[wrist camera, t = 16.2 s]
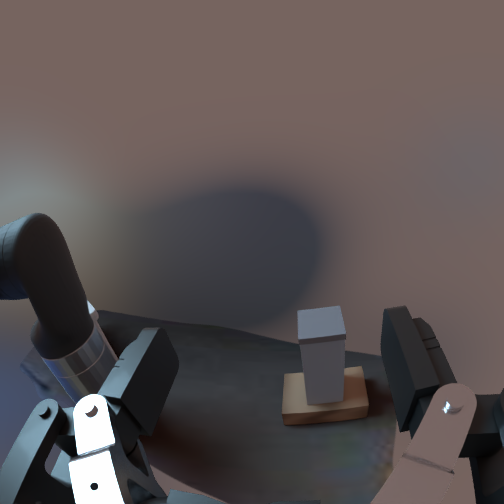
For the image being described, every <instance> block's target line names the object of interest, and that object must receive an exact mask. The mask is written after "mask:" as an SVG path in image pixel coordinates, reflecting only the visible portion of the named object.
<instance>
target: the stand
mask: <svg viewBox="0 0 504 504" xmlns="http://www.w3.org/2000/svg"><path fill="white" fill-rule="evenodd" d="M368 408H369V403H368V397H367V391H366V386H365V380H364V375H363V370H362V366H359V367H351V368H344V393H343V401H340V402H331V403H323V404H313V405H307V399H306V390H305V381H304V373H292V374H285V375H284V390H283V404H282V417H283V421H284V425H296V424H312V423H324V422H334V421H343V420H351V419H358V418H365V417H367V413H368Z"/></svg>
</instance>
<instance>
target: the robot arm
mask: <svg viewBox="0 0 504 504" xmlns="http://www.w3.org/2000/svg"><path fill="white" fill-rule="evenodd" d="M26 298H29V299H30V302H31V304H32V306H33V308H34V311H35V313H36V315H37V317H38V320H37V321H36V322H35V324H34V325H33V327H32V330H31V334H30V336H31V341H32V343H33V345H34V347H35V348H36V350H37V351H38V353H39V354H40V356H41V357H42V359H43V360H44V362H45V363H46V364H47V366H48V367H49V369H50V370H51V372H52V373H53V374H54V375H55V377H56V378H57V379H58V381H59V382H60V383H61V385H62V386H63V387H64V389H65V391H66V392H67V393H68V395H69V396H70V397H71V398H72V400H73V401H74V402H75V403H76V404H77V405H76V407H72V408H61V407H60V406H59V405H58V403H57V402H56V401H55V400H53V399H46V400H43V401H42V402H40V403H39V404H38V405H37V406H36V407H35V409H34V410H33V412H32V414H31V415H30V417H29V419H28V420H27V422H26V424H25V425H24V427H23V429H22V431H21V432H20V434H19V436H18V438H17V440H16V441H15V443H14V445H13V447H12V449H11V451H10V452H9V454H8V456H7V458H6V460H5V462H4V464H3V466H2V468H1V470H0V504H226V503H223V502H220V501H217V500H215V499H212V498H209V497H207V496H204V495H199V494H193V493H187V492H182V491H177V490H172V489H171V490H170V492H169V495H168V496H166V494H165V492H164V491H163V490H162V488H161V487H160V486H159V485H158V483H157V481H156V480H155V477H154V475H153V472H152V470H151V467H150V465H149V462H148V459H147V457H146V454H145V451H144V448H143V445H142V443H141V441H140V440H139V439H138V437H139V435H140V434H141V435H146V436H152V433H153V431H154V428H155V426H156V423H157V421H158V418H159V416H160V413H161V411H162V408H163V406H164V404H165V401H166V399H167V396H168V394H169V391H170V389H171V387H172V384H173V382H174V379H175V377H176V375H177V372H178V369H179V360H178V356H177V354H176V352H175V350H174V348H173V345H172V343H171V341H170V339H169V337H168V335H167V332H166V331H165V329H163V328H144V329H143V330H142V331H141V333H140V335H139V336H138V338H137V339H136V340H134V341H133V342H132V343H131V344H130V345H129V346H127V347H126V348H125V349H124V351H123V353H122V354H121V356H120V357H119V360H118V361H117V362H116V360H115V358H114V357H113V355H112V353H111V352H110V350H109V348H108V347H107V345H106V343H105V341H104V340H103V338H102V336H101V334H100V333H99V331H98V329H97V327H96V325H95V323H94V322H93V320H92V318H91V316H90V313H89V308H88V303H87V299H86V295H85V292H84V289H83V287H82V284H81V282H80V280H79V277H78V274H77V271H76V269H75V266H74V263H73V260H72V257H71V255H70V252H69V249H68V246H67V244H66V241H65V239H64V237H63V235H62V233H61V231H60V229H59V227H58V226H57V224H56V223H55V222H54V221H53V220H52V219H51V218H50V217H48V216H47V215H45V214H41V213H34V214H30V215H27V216H25V217H22V218H20V219H18V220H15V221H13V222H11V223H9V224H7V225H4V226H2V227H0V300H20V299H26ZM381 355H382V359H383V363H384V367H385V371H386V374H387V378H388V382H389V386H390V390H391V394H392V399H393V403H394V407H395V412H396V416H397V421H398V426H399V431H400V432H404V431H408V430H410V434H411V442H410V444H409V446H408V448H407V449H406V451H405V453H404V454H403V456H402V457H401V459H400V460H399V462H398V464H397V466H396V467H395V469H394V470H393V472H392V473H391V475H390V476H389V478H388V479H387V481H386V482H385V484H384V485H383V487H382V488H381V489H380V491H379V492H378V494H377V495H376V496H375V498H374V499H373V500H372V502H371V503H370V504H440V503H441V501H442V499H443V497H444V496H445V494H446V492H447V490H448V488H449V486H450V484H451V481H452V479H453V476H454V472H453V468H454V465H455V463H456V461H457V459H458V458H465V457H469V460H470V466H471V470H472V477H473V483H474V489H475V498H476V504H504V389H503V390H502V392H501V394H493V395H476V394H474V393H473V391H472V390H471V389H469V388H468V387H467V386H465V385H462V384H458V383H457V381H456V379H455V377H454V375H453V372H452V370H451V368H450V366H449V363H448V361H447V359H446V357H445V355H444V353H443V351H442V348H440V344H439V342H438V340H437V339H436V336H435V334H434V332H433V330H432V328H431V327H430V325H429V324H427V323H426V322H425V321H424V320H423V319H421V318H415V319H412V317H411V316H410V313H409V311H408V309H407V307H406V306H399V307H393V308H387V309H384V313H383V324H382V334H381ZM54 443H55V444H56V445H57V446H58V447H59V448H60V449H62V451H61V454H60V456H59V458H58V460H57V462H56V464H55V467H54V469H53V471H52V473H51V475H49V474H48V473H47V472H46V470H45V466H44V465H45V461H46V459H47V457H48V455H49V453H50V451H51V449H52V447H53V444H54ZM269 504H320V500H312V501H279V502H274V503H269Z"/></svg>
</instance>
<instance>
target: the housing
mask: <svg viewBox="0 0 504 504" xmlns="http://www.w3.org/2000/svg"><path fill="white" fill-rule="evenodd" d="M345 339H346V331H345V327H344V322H343V318H342V313H341V309H340V306H334V307H326V308H318V309H309V310H300V311H298V341H299V345H300V348H301V356H302V364H303V373H304V381H305V390H306V399H307V405H313V404H323V403H331V402H340V401H343V393H344V365H345Z"/></svg>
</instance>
